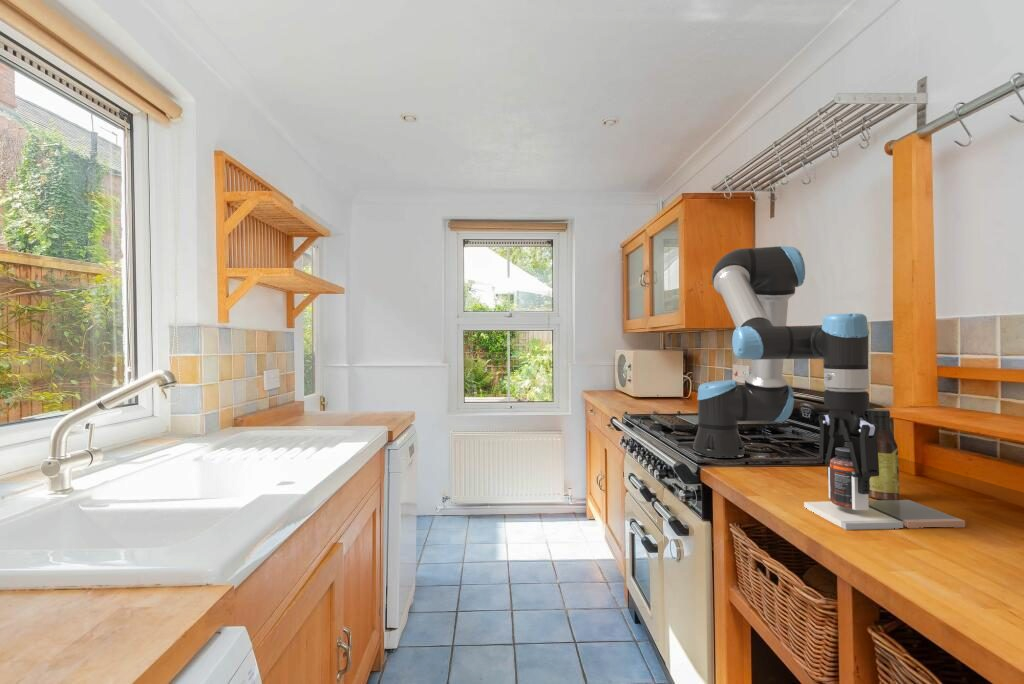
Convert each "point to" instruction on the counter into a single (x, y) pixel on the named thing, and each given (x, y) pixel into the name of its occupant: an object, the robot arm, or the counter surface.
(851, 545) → the counter surface
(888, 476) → the sauce bottle
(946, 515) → the grey square coaster
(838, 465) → the supplement bottle
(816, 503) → the cream square tile
